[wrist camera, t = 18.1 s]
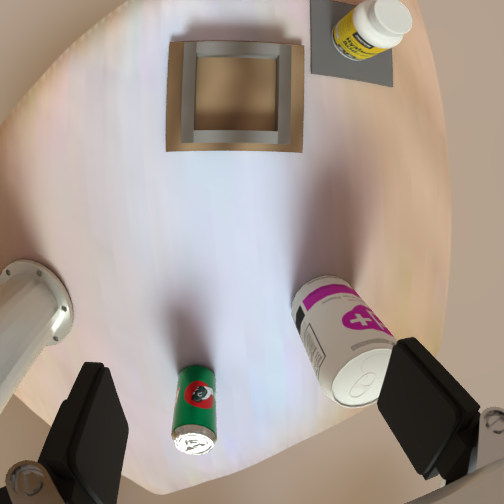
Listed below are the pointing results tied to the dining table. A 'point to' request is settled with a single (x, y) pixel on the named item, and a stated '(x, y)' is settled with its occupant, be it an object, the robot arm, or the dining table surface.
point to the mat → (331, 60)
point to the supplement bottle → (371, 28)
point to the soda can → (195, 411)
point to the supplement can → (342, 341)
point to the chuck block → (235, 96)
